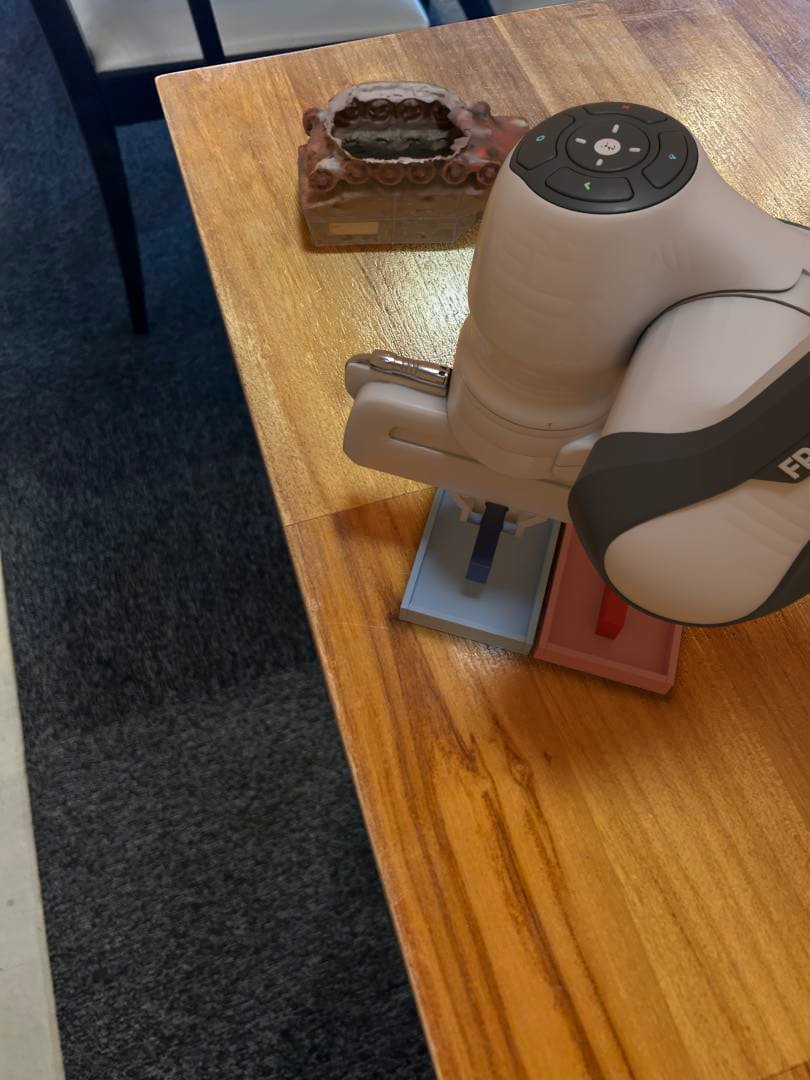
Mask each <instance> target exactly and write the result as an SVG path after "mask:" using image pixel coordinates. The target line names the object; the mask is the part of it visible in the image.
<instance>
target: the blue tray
mask: <svg viewBox="0 0 810 1080" xmlns="http://www.w3.org/2000/svg"><path fill="white" fill-rule="evenodd" d="M436 488H437V489H436V492H435V494H434V498H433V501H432V504H431V507H430V510H429V514H428V518H427V521H426V523H425V526H424V530H423V533H422V536H421V539H420V542H419V546H418V549H417V553H416V556H415V559H414V562H413V565H412V568H411V571H410V574H409V577H408V581H407V584H406V588H405V591H404V594H403V597H402V601H401V604H400V607H399V615H398V620H401V621H404V622H408V623H412V624H415V625H418V626H422V627H426V628H429V629H433V630H436V631H439V632H442V633H447V634H450V635H453V636H458V637H461V638H463V639H467V640H471V641H475V642H478V643H482V644H485V645H489V646H492V647H494V648H495V647H496V648H499V649H502V650H505V651H509V652H513V653H516V654H519V655H523V656H528V655H529V653H530V651H531V649H532V647H533V644H534V640H535V637H536V632H537V627H538V623H539V619H540V615H541V610H542V606H543V602H544V598H545V593H546V589H547V584H548V581H549V580H548V579H549V576H550V572H551V567H552V563H553V558H554V555H555V550H556V545H557V543H558V537H559V533H560V528H561V525H562V522H560V521H557V520H553V519H549V518H548V519H547V521H544V522H541V523H539V524H536V525H533V526H530V527H525V530H524V533H523V535H522V537H518V536H515V535H511V534H508V533H504V532H501V533H500V537H499V540H498V544H497V548H496V551H495V555H494V558H493V562H492V566H491V569H490V572H489V575H488V578H487V581H486V584H481V583H478V582H474V581H471V580H467V579H465V576H466V573H467V569H468V566H469V562H470V559H471V555H472V552H473V549H474V545H475V542H476V538H477V535H478V531H479V528H480V525H476V524H472V523H468V522H465V521H460V516H461V512H462V509H460V507H459V506H458V505H457V504H456V502H455V501H454V500H453V499H452V497H451V496H450V495H449V494H448V491H449V490H445V489H441V488H438V487H436Z"/></svg>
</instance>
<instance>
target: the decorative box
mask: <svg viewBox="0 0 810 1080" xmlns="http://www.w3.org/2000/svg"><path fill="white" fill-rule="evenodd" d="M515 90H517V91H518V89H517V88H516V89H515ZM326 105H327V107H320V106H312V107H310V108H307V109H306V110H304V111H303V112H304V113H302V119H301V123H302V128H303V130H304V133H305V135H306V136H307V137H309V138H308V139H307V143H305V144H301V145H298V147H297V156H298V157H297V161H296V164H297V175H298V179H297V181H298V190H299V199H300V204H301V207H300V213H302V214H303V215H304V220H305V222H306V224H307V226H308V230H309V236H310V240H311V243H313V245H314V246H315V247H317V248H319V247H331V246H354V245H355V246H356V245H381V244H384V245H385V244H388V245H389V244H391V245H395V244H432V243H433V244H442V243H443V244H444V243H451V244H453V243H455V242H456V241H457V240H458V238H459V237H461V236H462V235H463V234H464V233H466V232H469V231H471V230H473V229H474V228H475V227H476V226H477V224H478V222H481V221H482V217H483V214H484V211H485V207H486V204H487V201H488V198H489V195H490V192H491V190H492V187H493V185H494V182H495V180H496V177H497V175H498V173H499V170H500V168H501V166H502V164H503V163H504V161H505V159H506V158H507V156H508V155H509V153H510V152H511V150H512V149H513V148H514V147H515V145H516V144H517V143H518V142H519V141H520V140H521V139H522V138H523V136H524V135H525V134H526V133H527V132H528V131H529V130H531V128H530V124H529V121H528V119H527V118H526V117H525V116H522V115H498V116H497V115H492V112H491V106H490V104H489V102H488V101H487V100H486V99H485V100H483V99H475V100H468V101H467V100H466V101H464V100H463V99H462V98H461V97H460V96H459V95H457V94H455V93H454V92H452V91H451V90H449V89H448V88H447V87H443V86H441V85H438V84H435V83H430V82H427V81H420V80H418V81H414V80H403V79H402V80H397V81H393V80H390V81H387V80H378V81H370V82H369V81H368V82H361V83H359V84H352V85H350V86H347V88H344V89H342V90H340V91H338V92H337V93H335V94H334V95H333V96H332V97H331V98H330V99H328V100H327V103H326Z"/></svg>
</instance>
